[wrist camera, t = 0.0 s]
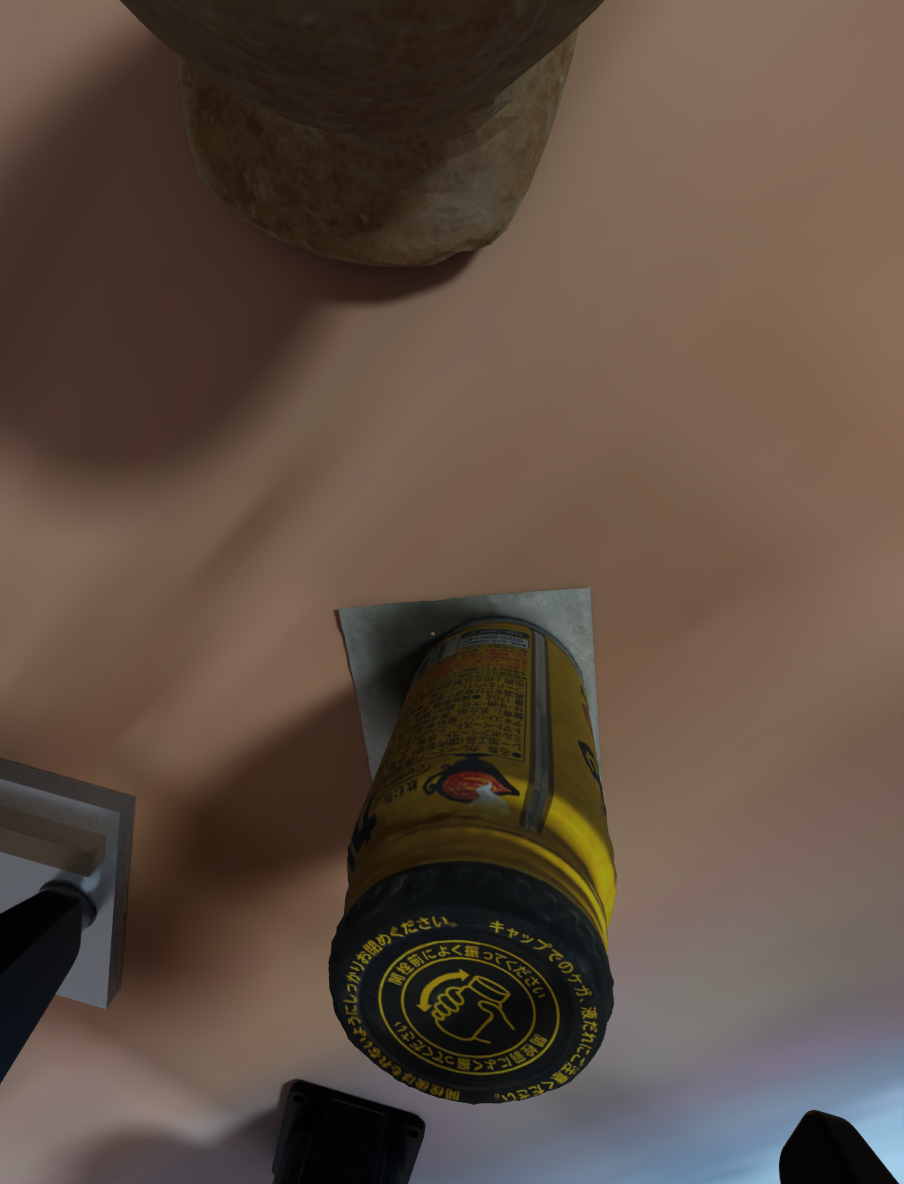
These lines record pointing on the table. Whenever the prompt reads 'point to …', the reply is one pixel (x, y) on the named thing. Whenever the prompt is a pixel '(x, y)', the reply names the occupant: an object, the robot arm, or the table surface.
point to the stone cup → (370, 115)
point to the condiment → (477, 847)
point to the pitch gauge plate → (70, 865)
